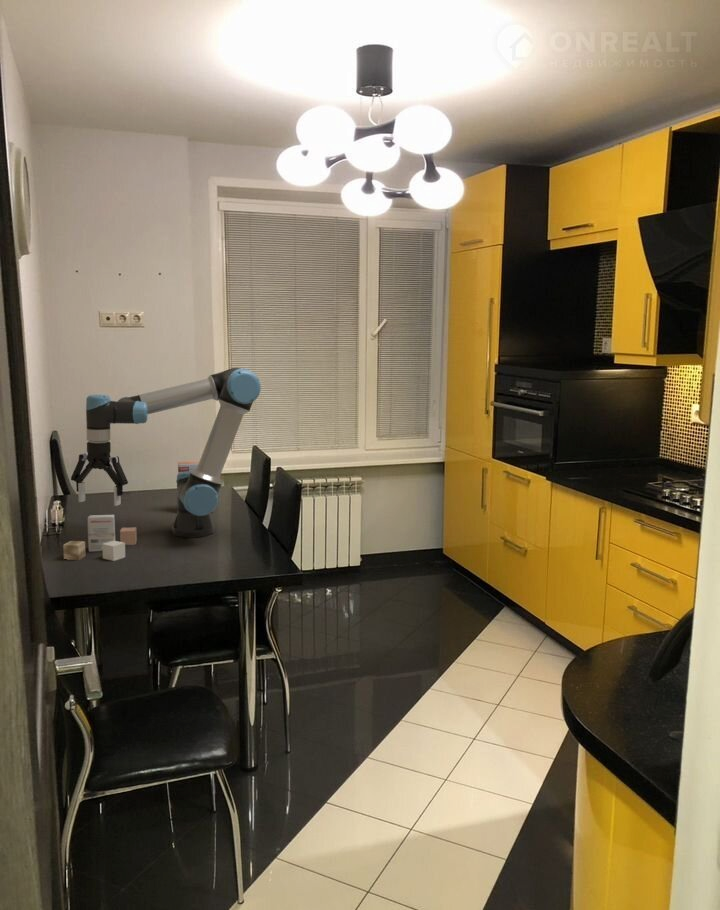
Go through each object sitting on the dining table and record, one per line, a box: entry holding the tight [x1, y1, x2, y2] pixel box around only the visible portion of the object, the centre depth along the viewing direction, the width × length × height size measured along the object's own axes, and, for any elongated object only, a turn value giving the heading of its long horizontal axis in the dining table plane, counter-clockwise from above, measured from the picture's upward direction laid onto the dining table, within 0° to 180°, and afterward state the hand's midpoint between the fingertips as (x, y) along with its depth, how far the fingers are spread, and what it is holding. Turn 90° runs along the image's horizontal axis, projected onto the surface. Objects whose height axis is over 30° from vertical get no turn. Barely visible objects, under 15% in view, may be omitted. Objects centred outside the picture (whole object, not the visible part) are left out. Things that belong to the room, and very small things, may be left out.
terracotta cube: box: [119, 526, 138, 546], centre depth 260 cm, size 5×5×5 cm
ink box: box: [87, 514, 116, 552], centre depth 251 cm, size 8×5×12 cm, turn 105°
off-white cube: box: [102, 540, 126, 562], centre depth 242 cm, size 5×5×5 cm
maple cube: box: [62, 540, 87, 561], centre depth 241 cm, size 5×5×5 cm
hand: (99, 503), depth 249 cm, fingers open, 13 cm apart
